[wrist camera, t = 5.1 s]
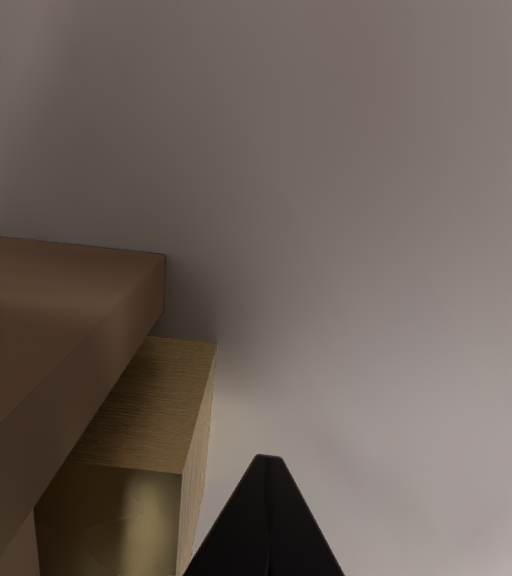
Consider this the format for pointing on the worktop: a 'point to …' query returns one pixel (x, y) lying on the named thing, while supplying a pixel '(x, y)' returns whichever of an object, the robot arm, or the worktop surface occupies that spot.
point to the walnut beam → (60, 363)
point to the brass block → (134, 471)
